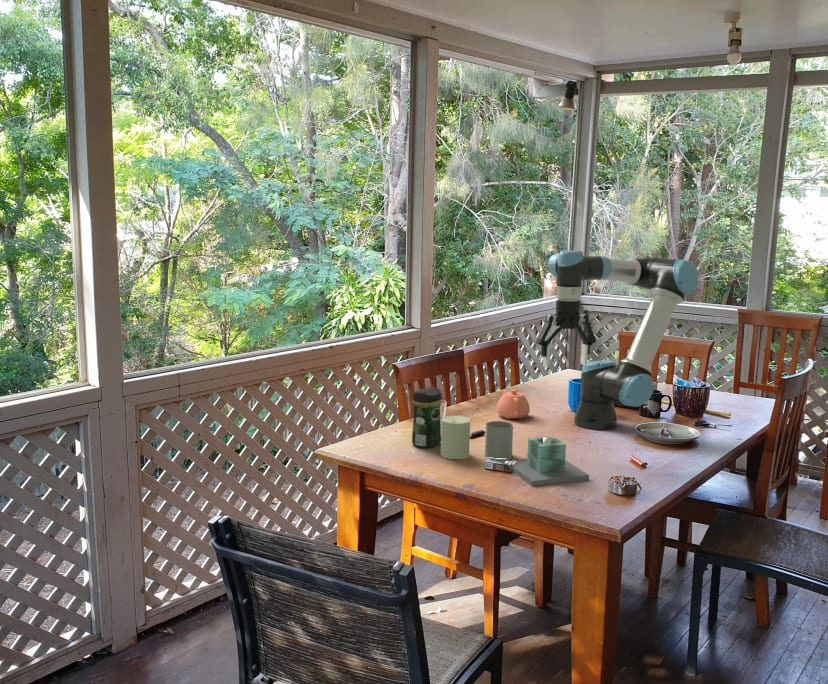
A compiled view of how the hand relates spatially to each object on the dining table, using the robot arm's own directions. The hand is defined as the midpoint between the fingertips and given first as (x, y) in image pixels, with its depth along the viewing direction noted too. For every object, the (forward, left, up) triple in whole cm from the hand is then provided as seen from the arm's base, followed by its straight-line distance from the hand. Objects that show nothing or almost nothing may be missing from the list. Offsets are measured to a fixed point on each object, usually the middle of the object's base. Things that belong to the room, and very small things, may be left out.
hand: (564, 365), depth 246 cm
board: (+17, +22, -27) cm, 39 cm away
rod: (+17, +22, -25) cm, 38 cm away
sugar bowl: (0, -36, -27) cm, 45 cm away
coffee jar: (+42, -13, -27) cm, 52 cm away
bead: (+17, +22, -25) cm, 37 cm away
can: (+37, 0, -27) cm, 46 cm away
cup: (+24, +4, -27) cm, 36 cm away
